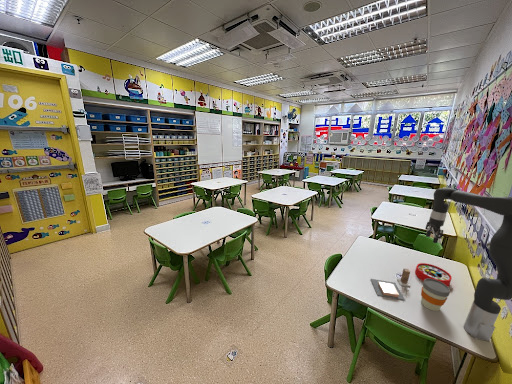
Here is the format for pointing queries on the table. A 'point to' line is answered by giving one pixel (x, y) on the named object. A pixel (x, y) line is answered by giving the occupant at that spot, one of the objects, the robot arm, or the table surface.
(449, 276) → the toy clock
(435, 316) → the table surface
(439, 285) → the reusable coffee cup
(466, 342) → the table surface
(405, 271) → the scraper
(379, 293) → the mat
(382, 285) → the tile
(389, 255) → the table surface
